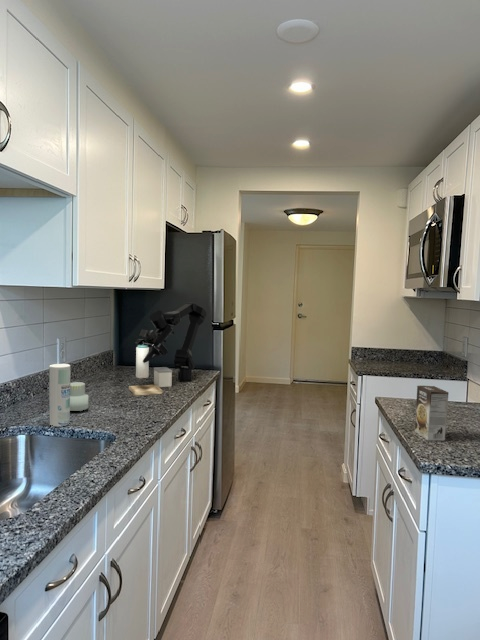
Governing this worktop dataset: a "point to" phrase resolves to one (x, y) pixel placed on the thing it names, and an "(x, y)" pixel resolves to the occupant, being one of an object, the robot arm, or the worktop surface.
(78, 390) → the air freshener
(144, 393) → the refill tray
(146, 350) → the cartridge
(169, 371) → the box
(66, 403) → the spray can
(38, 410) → the worktop surface
